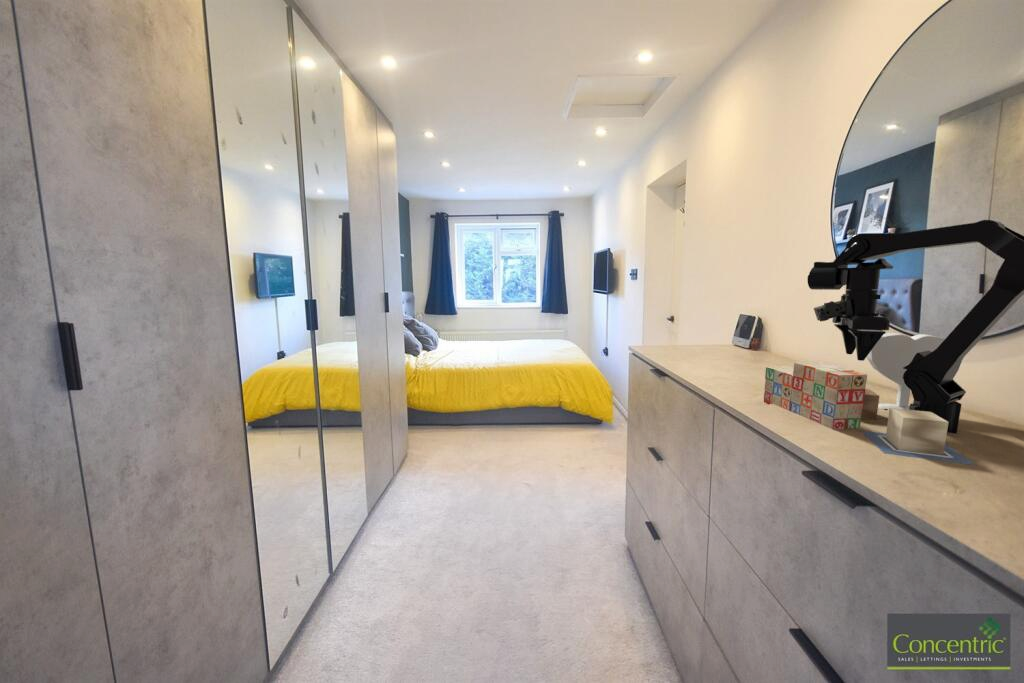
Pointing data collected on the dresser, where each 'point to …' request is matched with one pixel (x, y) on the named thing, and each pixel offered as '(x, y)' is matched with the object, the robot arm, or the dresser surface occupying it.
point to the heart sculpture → (899, 360)
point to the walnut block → (870, 405)
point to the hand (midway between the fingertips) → (854, 357)
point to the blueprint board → (889, 448)
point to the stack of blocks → (818, 393)
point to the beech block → (916, 431)
